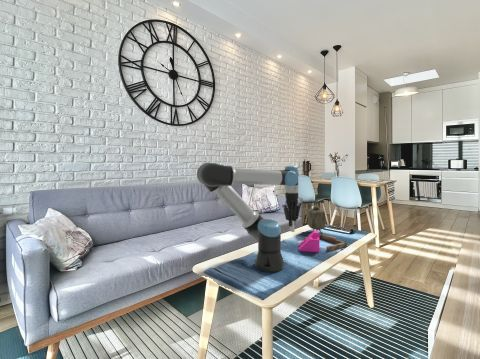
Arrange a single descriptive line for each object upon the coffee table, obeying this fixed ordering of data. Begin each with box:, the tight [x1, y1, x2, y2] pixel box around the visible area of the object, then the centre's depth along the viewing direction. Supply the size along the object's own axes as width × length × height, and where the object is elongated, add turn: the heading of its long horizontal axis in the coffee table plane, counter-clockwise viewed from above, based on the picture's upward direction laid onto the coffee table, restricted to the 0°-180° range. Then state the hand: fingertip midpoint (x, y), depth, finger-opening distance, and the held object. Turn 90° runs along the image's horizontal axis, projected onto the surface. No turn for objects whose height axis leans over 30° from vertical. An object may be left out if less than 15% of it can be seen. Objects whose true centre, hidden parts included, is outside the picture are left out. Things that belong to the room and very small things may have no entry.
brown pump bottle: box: [307, 199, 326, 235], centre depth 186 cm, size 14×9×25 cm, turn 179°
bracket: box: [298, 229, 320, 253], centre depth 154 cm, size 12×10×10 cm
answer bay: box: [303, 233, 348, 252], centre depth 162 cm, size 16×22×3 cm
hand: (292, 231), depth 149 cm, fingers closed
